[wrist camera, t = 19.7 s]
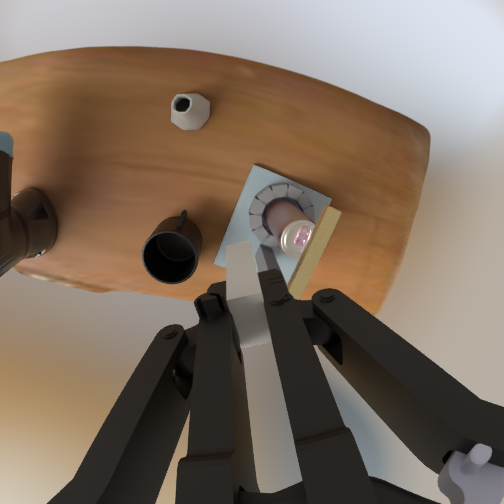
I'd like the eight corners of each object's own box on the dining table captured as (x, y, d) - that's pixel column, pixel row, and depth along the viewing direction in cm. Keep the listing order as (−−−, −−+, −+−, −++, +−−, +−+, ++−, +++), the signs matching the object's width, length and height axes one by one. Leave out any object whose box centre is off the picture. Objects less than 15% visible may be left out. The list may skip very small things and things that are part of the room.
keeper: (263, 316, 36) (264, 322, 35) (318, 200, 31) (321, 203, 30) (288, 323, 37) (290, 328, 36) (344, 212, 32) (348, 215, 31)
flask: (164, 125, 45) (150, 120, 36) (179, 88, 43) (167, 75, 33) (202, 136, 46) (196, 133, 37) (217, 99, 44) (214, 88, 35)
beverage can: (301, 205, 51) (329, 227, 37) (288, 234, 53) (311, 266, 39) (271, 193, 50) (290, 212, 36) (259, 223, 52) (272, 253, 38)
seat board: (213, 261, 55) (208, 323, 36) (253, 164, 49) (270, 176, 30) (287, 286, 58) (313, 351, 39) (330, 198, 52) (383, 229, 33)
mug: (213, 212, 51) (210, 226, 43) (194, 269, 55) (189, 291, 47) (164, 196, 50) (152, 207, 41) (149, 254, 53) (136, 274, 45)
